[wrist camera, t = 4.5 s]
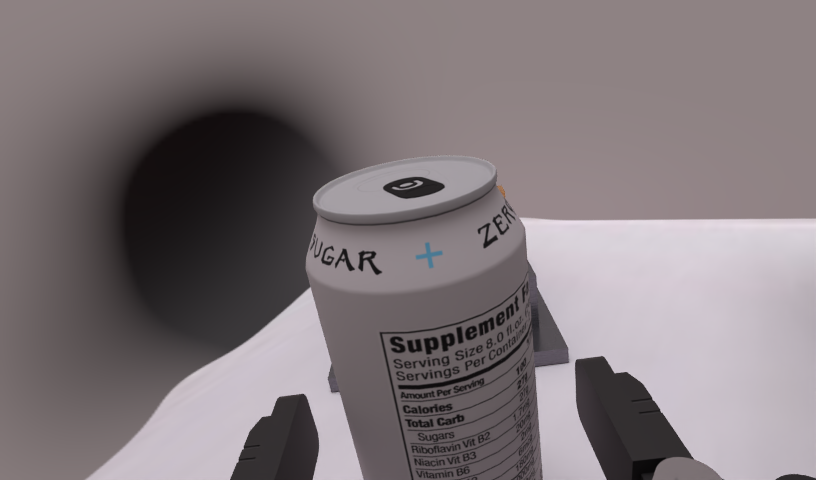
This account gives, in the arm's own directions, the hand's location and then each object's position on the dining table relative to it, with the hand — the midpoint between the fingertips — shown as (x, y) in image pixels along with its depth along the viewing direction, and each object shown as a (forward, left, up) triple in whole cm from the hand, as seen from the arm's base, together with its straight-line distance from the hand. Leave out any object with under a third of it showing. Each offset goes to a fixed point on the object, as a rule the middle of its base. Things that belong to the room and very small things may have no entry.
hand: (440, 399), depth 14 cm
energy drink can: (0, -1, -9) cm, 9 cm away
